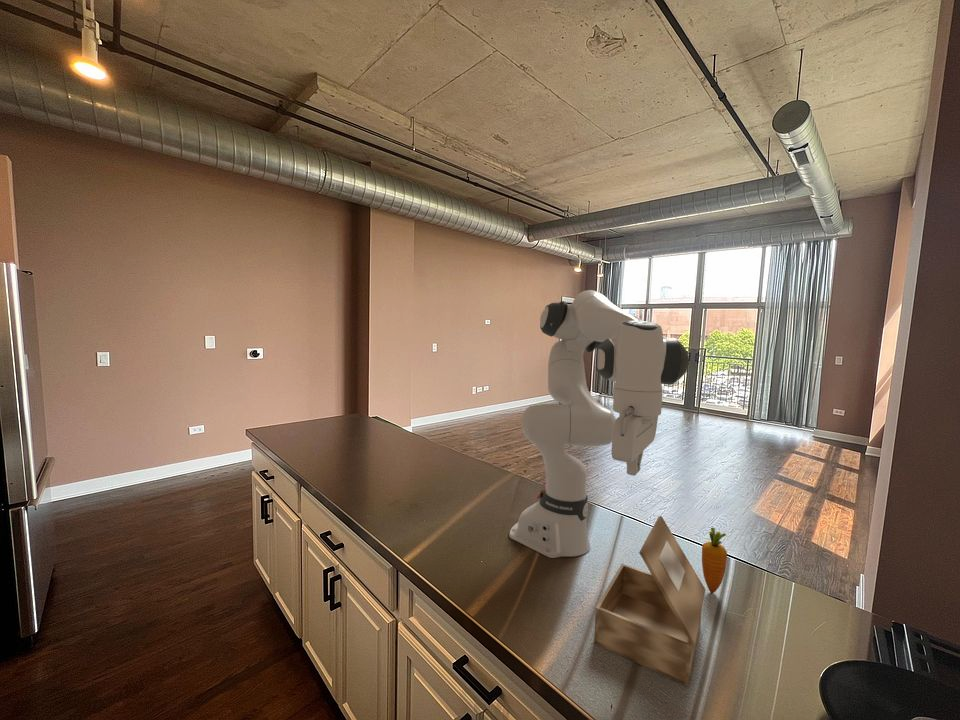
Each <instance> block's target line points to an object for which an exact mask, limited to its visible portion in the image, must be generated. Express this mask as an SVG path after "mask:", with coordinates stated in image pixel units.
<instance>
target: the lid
mask: <svg viewBox="0 0 960 720" xmlns="http://www.w3.org/2000/svg"><path fill="white" fill-rule="evenodd" d="M638 553H639V556H640V557H641V558H642V560H643V562H644V564H645V565H646V567H647V568H648V572H649V573H651V574H652V576H653V578H654V580H655V581H656V583H657V585H658V587H659V588H660V590H661V592H662V594H663V595H664V597H665V599H666V601H667V602H668V604H669V606H670V608H671V609H672V611H673V613H674V615H675V616H676V618H677V620H678V622H679V623H680V625H681V627H682V629H683V630H684V632H685V634H686V636H687V637H688V639H689V641H690V643H691V644H695V641H696V636H697V631H698V626H699V621H700V616H701V617H702V611H703V605H704V600H705V595H706V587H705V586H704V585H703V582H702V581H701V579H700V578H699V576H698V574H697V573H696V571H695V570H694V568H693V566H692V564H691V562H690V560H688V558H687V556H686V555H685V552H684V550H683V549H682V548H681V546H680V544H679V543H678V541H677V539H676V537H675V536H674V534H673V533H672V531H671V529H670V527H669V526H668V525H667V522H666V521H665V519H664V517H663V516H662V515H659V516H658V517H657V519H656V521H655V523H654V525H653V526H652V528H651V530H650V532H649V533H648V536H647V538H646V539H645V541H644V543H643V545H642V547H641V549H640V550H639V552H638Z"/></svg>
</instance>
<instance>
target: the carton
mask: <svg viewBox="0 0 960 720" xmlns="http://www.w3.org/2000/svg"><path fill="white" fill-rule="evenodd" d="M594 616H595V617H594V634H593V643H594V644H595V645H597V646H599V647H602V648H604V649H606V650H608V651H611V652H612V653H615V654H616V655H619V656H621V657H623V658H626V659H627V660H630V661H632V662H634V663H636V664H639V665H641V666H643V667H645V668H647V669H650V670H652V671H653V672H655V673H658V674H659V675H662V676H664V677H666V678H668V679H671V680H673V681H675V682H676V683H679V684H681V685H683V686H685V687H688V688H689V686H690V683H691V677H692V672H693V666H694V661H695V656H696V651H697V647H698V646H697V645H698V639H699V634H700V630H701V629H700V628H701V622H702V615H701V616H700V621H699V626H698V631H697V636H696V641H695V644H691V643H690V641H689V639H688V637H687V636H686V634H685V632H684V630H683V629H682V627H681V625H680V623H679V622H678V620H677V618H676V616H675V615H674V613H673V611H672V609H671V608H670V606H669V604H668V602H667V601H666V599H665V597H664V595H663V594H662V592H661V590H660V588H659V587H658V585H657V583H656V581H655V580H654V578H653V576H652V574H651V573H650V572H649V571H648V572H647V571H644V570H641V569H639V568H636V567H632V566H630V565H627V564H624V563H621V564H620V566H619V568H618V569H617V571H616V573H615V575H614V576H613V578H612V580H611V581H610V583H609V584H608V586H607V587H606V589H605V591H604V593H603V595H601V598H600V599H599V601H598V603H597V605H595V613H594Z"/></svg>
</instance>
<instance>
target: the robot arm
mask: <svg viewBox="0 0 960 720" xmlns="http://www.w3.org/2000/svg"><path fill="white" fill-rule="evenodd" d="M539 320H540V321H539V323H540V325H539V326H540V330H541V332H542V333H543V334H544V335H547V336H549V337H553V338H556V339H560V340H558V341H557V342H555V343H554V344H553V346H552V347H551V349H550V353H549V357H548V363H547V365H548V366H547V389H548V390H547V391H548V393H549V395H550V396H551V398H553V400H555V401H556V402H557V403H558V404H557V403H555V404H554V403H542V404H534V405H529V406H528V407H526V408H525V410H524V412H523V414H522V417H521V420H520V421H521V422H520V426H521V431H522V433H523V436H524V437H525V438H526V439H527V440H528V441H529V442H530V443H532V444H533V445H534V446H535V448H537V450H538V452H539V453H540V455H541V457H542V459H543V462H544V469H545V486H544V487H543V489H542V490H540V491H539V493H537V495H536V496H537V497H536V499H539V501H537V502H534V504H531V505H530V506H528V507H527V508H525V509H524V510H523V511H522V512H521V513H520V516H519V518H518V521H517V522H516V523H515V524H514V525H513V526H512V527H511V528H510V530H509V535H508V536H509V538H510V539H511V540H514V541H516V542H518V543H520V544H522V545H524V546H526V547H527V548H529V549H531V550H534V551H535V552H537V553H540V554H541V555H543V556H545V557H548V558H550V559H556V558H561V557H577V556H582V555H585V554H586V553H588V552H589V551H590V549H591V543H590V539H589V536H588V528H587V527H588V525H587V516H588V511H589V510H588V509H589V504H588V500H589V499H588V497H589V496H588V495H587V486H588V483H587V482H588V469H587V467H586V465H585V464H584V462H582V461H581V460H580V459H578V458H577V457H575V456H573V455H571V454H570V453H568V452H567V451H566V450H565V447H566V446H574V447H575V446H577V447H578V446H579V447H591V448H593V447H600V446H606V445H610V444H611V450H610V451H611V458H612V459H613V460H614V461H618V462H624V463H626V473H627V475H630V476H633V477H634V476H637V474H638V473H639V472H640V471H641V463H642V459H643V455H644V451H645V449H647V448H648V447H649V446H650V445H651V444H652V443H653V442H654V441H655V438H656V434H657V433H656V432H657V427H658V420H659V416H661V414H662V408H663V385H669V386H670V385H674V384H675V383H676V382H678V381H679V380H680V379H681V378H683V376H684V375H685V374H686V373H687V371H688V369H689V365H690V361H689V360H690V359H689V353H688V351H687V349H686V348H685V346H684V345H683V344H682V342H680V341H679V340H678V339H677V338H675V337H667V336H665V335H664V332H663V329H662V326H661V325H660V324H658V323H656V322H653V321H646V320H642V319H641V318H638V317H636V316H635V315H633V314H630V313H629V312H626V311H625V310H623V309H621V308H620V307H618V306H617V305H615V304H614V303H613V302H612V301H611V300H610V299H609V298H608V297H607V296H606V295H604V294H602V293H601V292H599V291H596V290H594V289H593V290H592V289H587V290H584V291H581V292H579V293H578V294H577V295H576V296H575V297H574V299H573V302H572V303H570V304H569V303H566V302H565V301H564V300H561V301H558V302H557V301H556V302H551V303H549V304H547V305H546V306H545V308H543V311H542V312H541V315H540V319H539ZM595 350H596V353H595V354H596V356H595V359H596V360H595V361H596V362H595V368H596V369H595V370H596V371H597V373H599V375H600V376H601V377H602V378H603V379H605V380H607V381H611V382H614V386H613V399H612V401H613V402H612V410H610V409H609V408H607V407H605V406H604V405H602V404H601V403H599V401H597V400H596V399H595V398H594V397H593V395H592V394H591V392H590V391H589V388H588V385H587V378H586V371H585V369H586V368H585V362H584V354H585V351H587V352H588V353H592V352H594V351H595ZM612 411H613V412H615V413H617V414H618V415H619V416H618V417H616V416H615V415H614V413H613V412H612Z"/></svg>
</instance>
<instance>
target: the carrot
mask: <svg viewBox="0 0 960 720" xmlns="http://www.w3.org/2000/svg"><path fill="white" fill-rule="evenodd" d="M725 536H727V534H726V533H724V532H723V533H721V532H720V531H716V529H715V527H711V528H710V531H709V540H710V541H707V542H704V543H702V547H701V565H702V566H701V567H702V573H703V577H704V581H705V584H706V586H707V589H708V591H709V592H710V593H711V594H714V593H716V592H717V591H718V589H719V588H720V586H721V584H722V582H723V580H724V578H725V573H726V569H727V563H728V560H727V559H728V552H727V550H726V548H725V547H724V546H723V545H722V540H721V539H722V538H723V537H725Z"/></svg>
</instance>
